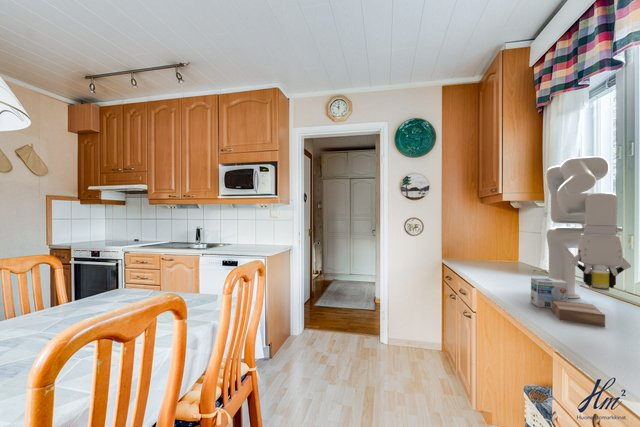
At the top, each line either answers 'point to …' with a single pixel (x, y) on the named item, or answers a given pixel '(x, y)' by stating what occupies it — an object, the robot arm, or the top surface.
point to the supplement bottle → (599, 278)
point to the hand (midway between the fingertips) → (599, 285)
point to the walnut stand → (578, 313)
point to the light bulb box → (548, 291)
